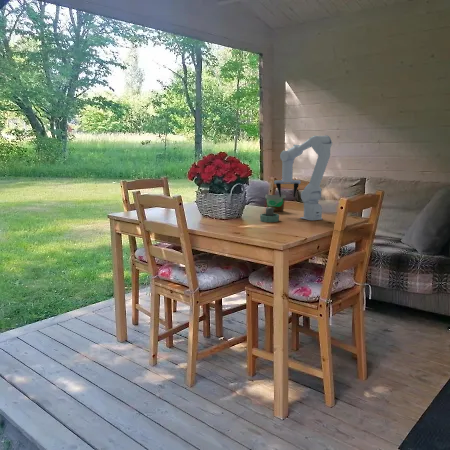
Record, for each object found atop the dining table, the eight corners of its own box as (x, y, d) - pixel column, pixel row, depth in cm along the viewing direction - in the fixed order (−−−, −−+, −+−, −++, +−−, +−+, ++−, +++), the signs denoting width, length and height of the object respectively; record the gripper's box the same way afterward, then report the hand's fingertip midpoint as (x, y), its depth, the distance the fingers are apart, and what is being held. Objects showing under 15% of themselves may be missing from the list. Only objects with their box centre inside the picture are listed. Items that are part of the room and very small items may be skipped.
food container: (263, 212, 272) (263, 195, 270) (265, 210, 278) (265, 193, 276) (284, 212, 268) (284, 195, 266) (285, 211, 274) (286, 194, 272)
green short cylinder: (282, 220, 243) (282, 215, 243) (267, 222, 238) (267, 216, 238) (271, 218, 251) (271, 212, 251) (256, 219, 247) (256, 214, 246)
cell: (274, 219, 244) (274, 207, 243) (268, 220, 242) (268, 208, 241) (270, 218, 248) (270, 206, 246) (264, 219, 246) (264, 207, 245)
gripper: (300, 171, 261) (299, 195, 264) (274, 172, 263) (274, 196, 265) (301, 172, 255) (300, 197, 257) (274, 173, 256) (274, 197, 258)
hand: (287, 196), depth 261 cm, fingers open, 7 cm apart
